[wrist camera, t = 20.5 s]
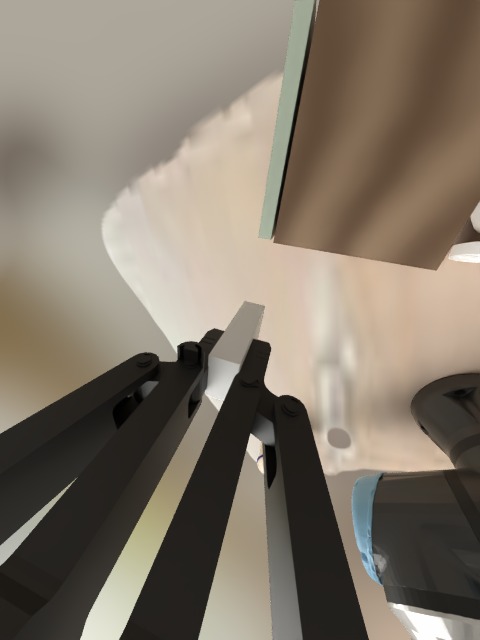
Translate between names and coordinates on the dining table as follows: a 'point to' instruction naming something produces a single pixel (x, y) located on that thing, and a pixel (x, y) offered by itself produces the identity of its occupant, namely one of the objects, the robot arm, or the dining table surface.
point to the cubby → (386, 132)
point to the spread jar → (468, 243)
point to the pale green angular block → (288, 111)
